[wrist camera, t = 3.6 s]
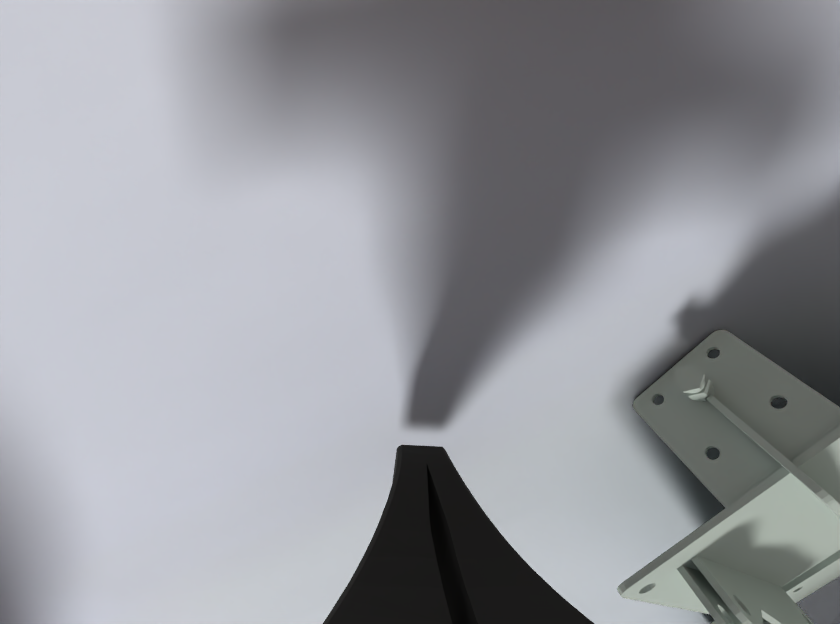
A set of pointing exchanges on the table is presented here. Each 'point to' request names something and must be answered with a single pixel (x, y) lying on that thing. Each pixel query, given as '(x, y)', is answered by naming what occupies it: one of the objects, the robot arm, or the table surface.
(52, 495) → the table surface
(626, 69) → the table surface
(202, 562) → the table surface
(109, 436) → the table surface
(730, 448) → the metal bracket
